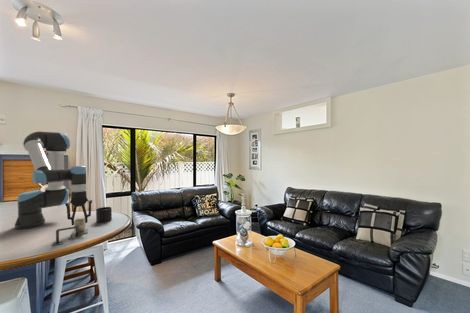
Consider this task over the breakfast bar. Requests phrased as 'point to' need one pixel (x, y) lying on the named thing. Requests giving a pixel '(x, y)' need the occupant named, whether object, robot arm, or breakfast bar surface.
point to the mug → (103, 214)
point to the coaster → (79, 233)
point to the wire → (65, 229)
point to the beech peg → (80, 224)
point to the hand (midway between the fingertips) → (79, 229)
